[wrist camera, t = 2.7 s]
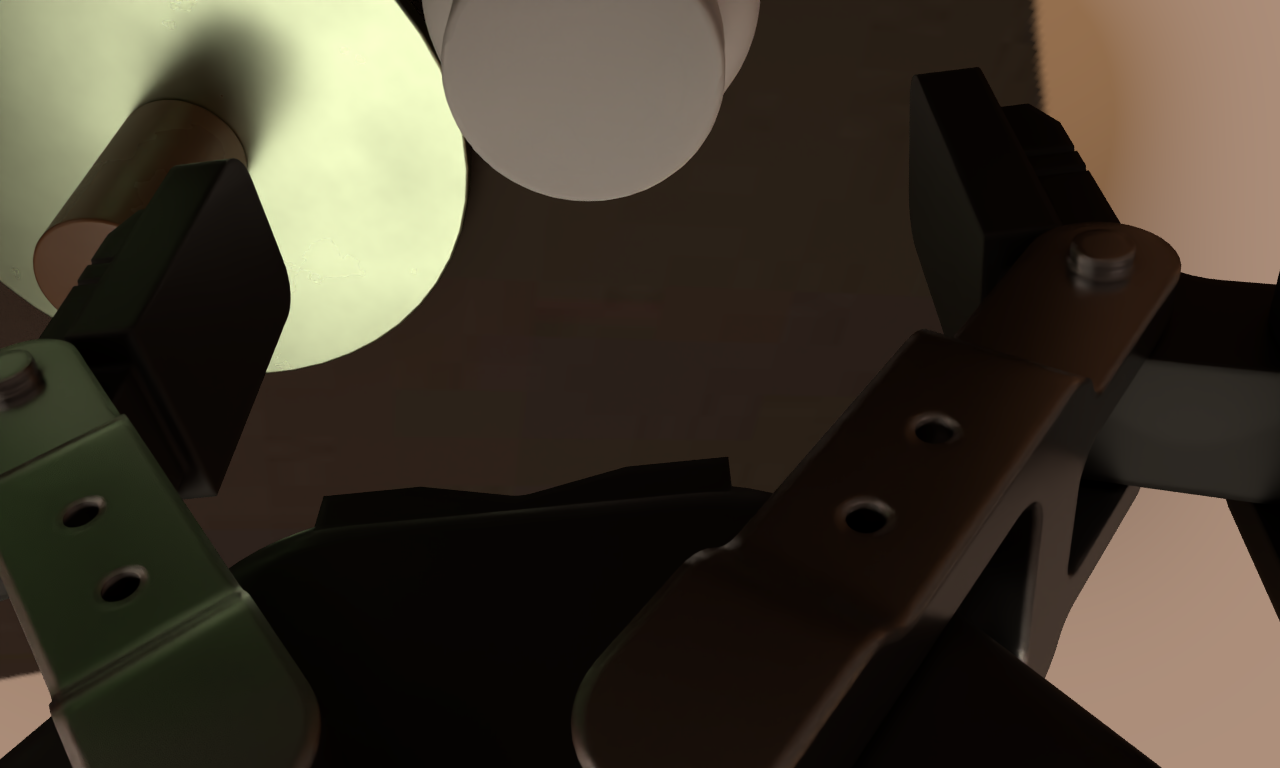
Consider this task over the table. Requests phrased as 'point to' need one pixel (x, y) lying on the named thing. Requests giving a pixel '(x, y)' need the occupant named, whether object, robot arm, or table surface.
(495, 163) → the pill bottle
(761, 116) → the table surface
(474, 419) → the table surface
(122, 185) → the lid
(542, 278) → the table surface
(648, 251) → the table surface
